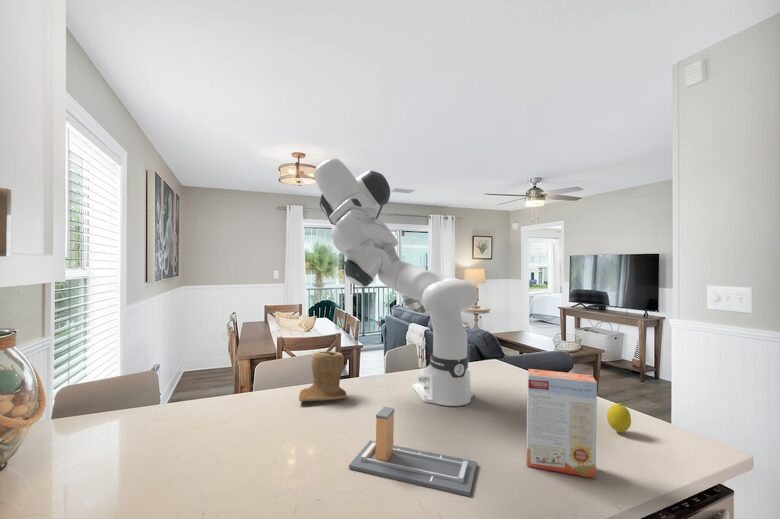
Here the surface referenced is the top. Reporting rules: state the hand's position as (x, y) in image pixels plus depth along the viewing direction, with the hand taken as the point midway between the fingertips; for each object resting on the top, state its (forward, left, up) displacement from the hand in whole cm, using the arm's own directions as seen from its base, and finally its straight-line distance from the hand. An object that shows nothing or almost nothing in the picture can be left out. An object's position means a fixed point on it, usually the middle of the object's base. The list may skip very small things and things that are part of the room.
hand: (388, 261), depth 87 cm
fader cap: (0, 0, -45) cm, 45 cm away
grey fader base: (+5, +5, -45) cm, 46 cm away
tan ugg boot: (-42, -5, -46) cm, 62 cm away
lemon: (+9, +65, -46) cm, 80 cm away
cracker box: (+16, +36, -46) cm, 60 cm away
